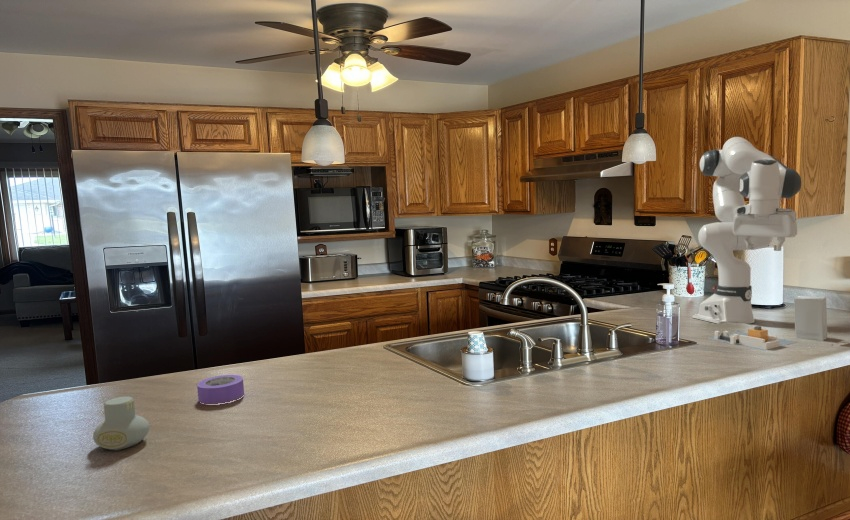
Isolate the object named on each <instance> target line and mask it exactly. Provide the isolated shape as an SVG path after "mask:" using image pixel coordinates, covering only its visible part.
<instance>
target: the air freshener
mask: <svg viewBox="0 0 850 520" xmlns="http://www.w3.org/2000/svg"><path fill="white" fill-rule="evenodd" d="M135 406H136V405H135V399H134V398H133V397H132V396H118V397H114V398H113V397H112V398H111V399H108V400H106V401H105V402H103V409H104V411H103V412H104V420H103V421H102V422H101V423H100V424H99V425H97V426H96V428H95V429H94V431H93V434H92V439H93V441H94V443H95V445H97V446H99V447H100V448H102V449H107V450H111V451H121V449H122V450H124V449H128V448H130V447H133V446H134V445H135V446H136V445H137V444H138V443H140V442H141V441H143V440H144V439H145V438H146V436H147V435H148V433H149V431H150V424H149V422H148V420H147V419H146V418H144V417H143V416H140V415H137V414H136V407H135Z"/></svg>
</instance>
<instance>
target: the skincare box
mask: <svg viewBox="0 0 850 520" xmlns="http://www.w3.org/2000/svg"><path fill="white" fill-rule="evenodd" d="M793 302H794V303H793V304H794V305H793V307H794V308H793V309H794V338H795V339H801V340H810V341H820V342H824V341H825V340H827V339H828V325H827V324H828V321H827V320H828V319H827V316H828V315H827V313H828V312H827V296H821V295H820V296H817V295H816V296H815V295H814V296H813V295H798V296H795V297H794V299H793Z"/></svg>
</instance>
